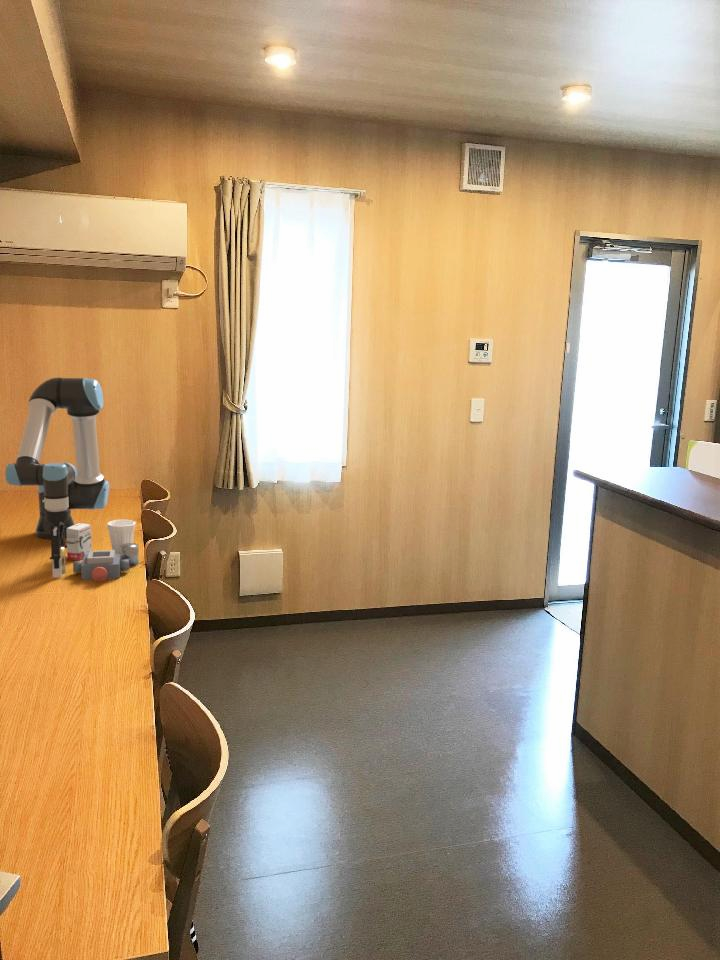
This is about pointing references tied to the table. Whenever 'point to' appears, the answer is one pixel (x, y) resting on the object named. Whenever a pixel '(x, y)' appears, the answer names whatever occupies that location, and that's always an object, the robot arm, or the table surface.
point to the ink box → (78, 541)
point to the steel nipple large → (130, 553)
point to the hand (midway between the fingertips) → (59, 571)
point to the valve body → (101, 565)
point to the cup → (120, 533)
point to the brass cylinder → (63, 559)
